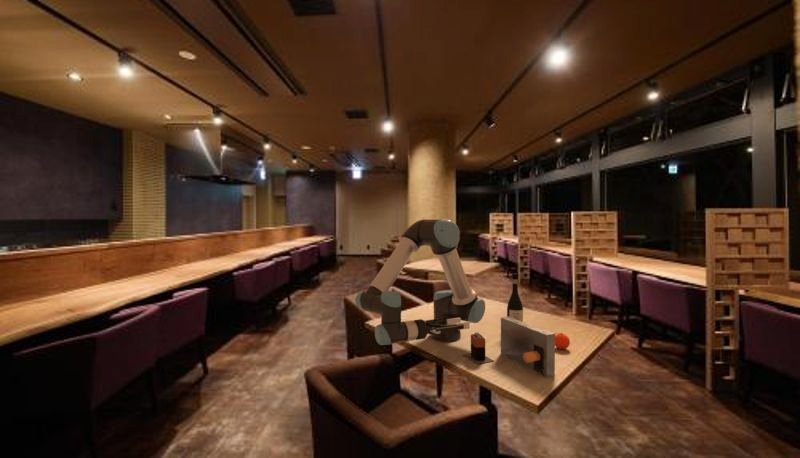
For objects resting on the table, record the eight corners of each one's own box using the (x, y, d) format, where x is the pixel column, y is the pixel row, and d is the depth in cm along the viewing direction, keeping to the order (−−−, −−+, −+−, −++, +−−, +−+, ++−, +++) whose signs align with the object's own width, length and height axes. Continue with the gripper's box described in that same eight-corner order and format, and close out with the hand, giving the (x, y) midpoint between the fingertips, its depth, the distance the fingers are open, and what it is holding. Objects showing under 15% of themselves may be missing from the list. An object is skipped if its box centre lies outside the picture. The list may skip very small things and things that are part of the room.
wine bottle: (524, 332, 189) (525, 274, 188) (509, 332, 189) (509, 274, 188) (520, 327, 197) (520, 272, 196) (505, 327, 197) (505, 272, 196)
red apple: (547, 346, 168) (548, 331, 167) (559, 344, 170) (559, 329, 170) (561, 352, 160) (561, 336, 160) (573, 350, 163) (573, 334, 163)
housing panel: (500, 353, 159) (500, 317, 159) (508, 352, 161) (508, 316, 160) (546, 377, 135) (546, 335, 135) (554, 375, 137) (554, 333, 136)
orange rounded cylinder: (523, 360, 138) (523, 351, 138) (533, 358, 140) (533, 349, 140) (529, 364, 135) (530, 354, 135) (540, 362, 137) (540, 352, 137)
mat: (462, 355, 158) (462, 354, 158) (478, 352, 161) (478, 351, 161) (478, 364, 148) (478, 363, 148) (493, 361, 151) (493, 360, 151)
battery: (480, 354, 158) (480, 331, 157) (485, 360, 151) (485, 336, 151) (470, 354, 157) (470, 332, 157) (475, 361, 150) (475, 337, 150)
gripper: (404, 332, 150) (452, 325, 160) (425, 347, 133) (478, 338, 143) (404, 314, 150) (452, 308, 159) (425, 327, 133) (478, 319, 142)
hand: (464, 322), depth 151 cm, fingers open, 6 cm apart
